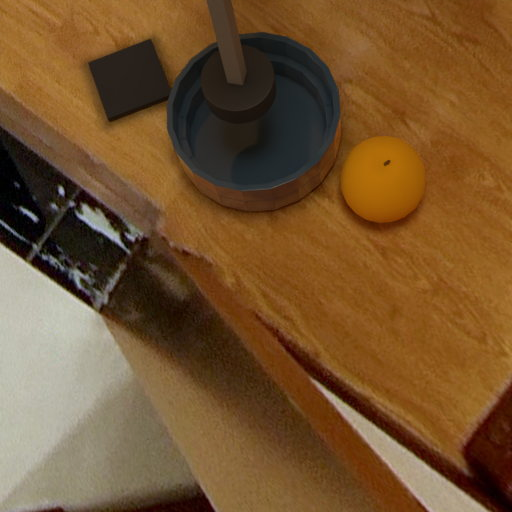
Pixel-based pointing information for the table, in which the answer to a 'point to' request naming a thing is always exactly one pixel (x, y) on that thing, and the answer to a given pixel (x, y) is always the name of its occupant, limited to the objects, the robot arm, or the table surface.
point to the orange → (383, 179)
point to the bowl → (259, 130)
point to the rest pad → (130, 80)
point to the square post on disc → (236, 72)
